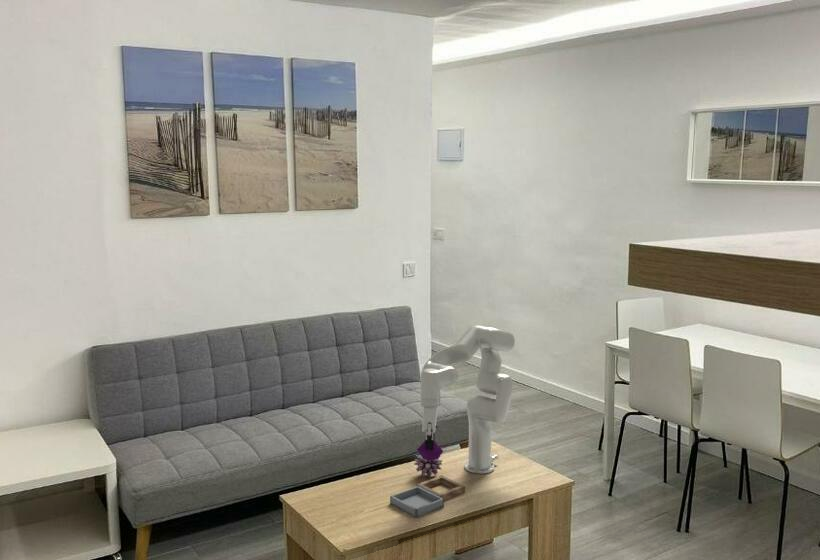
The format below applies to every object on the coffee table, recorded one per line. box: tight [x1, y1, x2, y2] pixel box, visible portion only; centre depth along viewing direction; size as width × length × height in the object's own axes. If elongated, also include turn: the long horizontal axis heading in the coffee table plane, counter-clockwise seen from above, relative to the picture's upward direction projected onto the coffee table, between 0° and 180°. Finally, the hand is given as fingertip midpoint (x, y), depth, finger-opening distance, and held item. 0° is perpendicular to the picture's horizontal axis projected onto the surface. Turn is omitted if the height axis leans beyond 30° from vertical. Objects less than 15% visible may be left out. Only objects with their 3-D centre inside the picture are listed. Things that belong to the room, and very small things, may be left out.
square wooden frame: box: [415, 474, 466, 501], centre depth 292 cm, size 14×14×2 cm
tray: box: [389, 485, 445, 518], centre depth 281 cm, size 14×15×3 cm
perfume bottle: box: [416, 421, 444, 461], centre depth 284 cm, size 8×8×18 cm
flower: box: [413, 454, 443, 478], centre depth 306 cm, size 12×12×12 cm
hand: (429, 446), depth 284 cm, fingers closed on perfume bottle, 6 cm apart
